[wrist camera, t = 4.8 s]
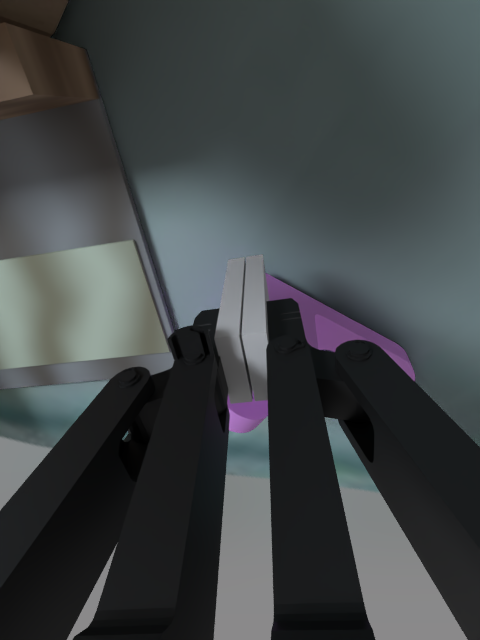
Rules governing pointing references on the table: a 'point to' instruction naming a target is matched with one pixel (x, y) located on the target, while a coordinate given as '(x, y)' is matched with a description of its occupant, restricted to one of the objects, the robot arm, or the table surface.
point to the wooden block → (33, 14)
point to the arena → (68, 228)
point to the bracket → (314, 345)
